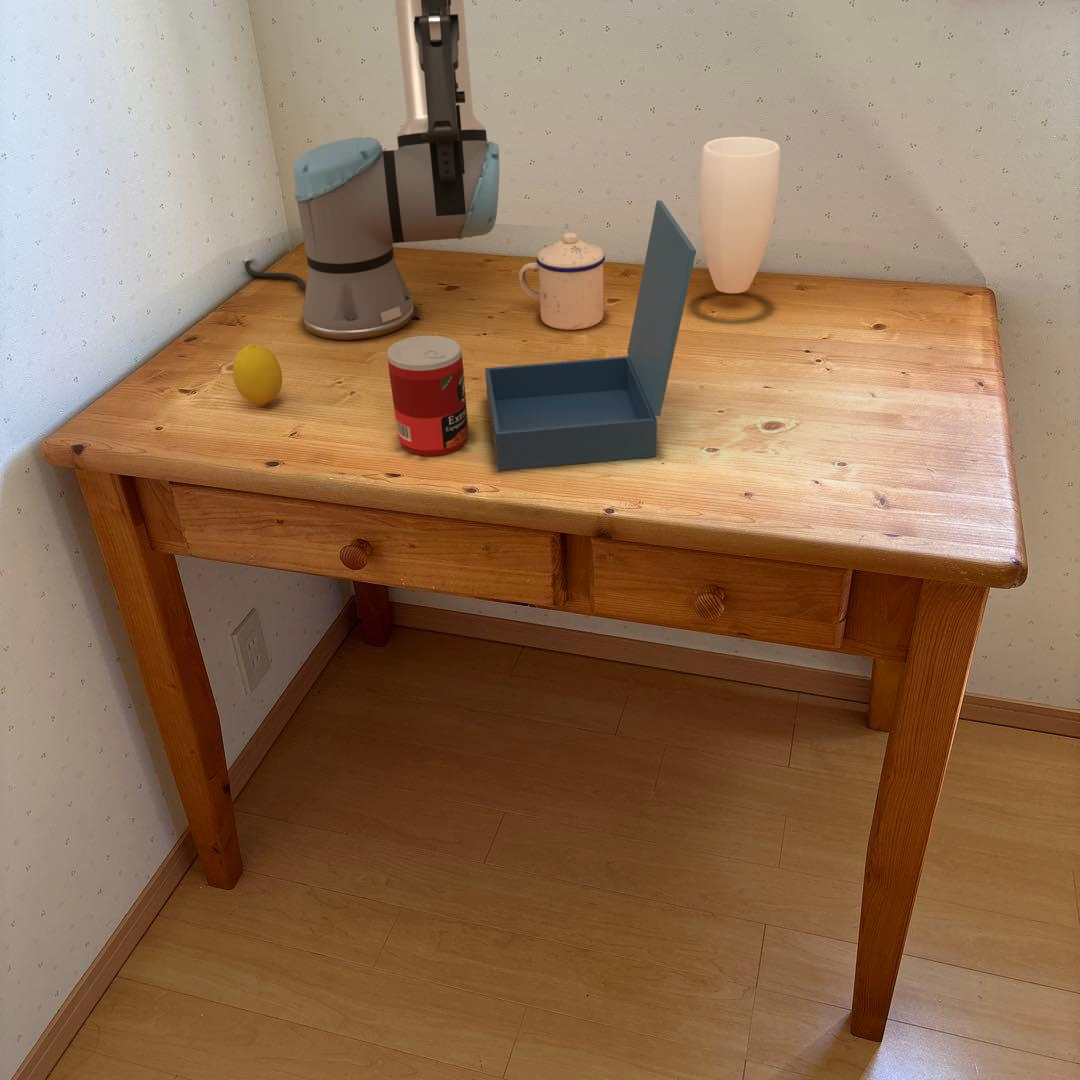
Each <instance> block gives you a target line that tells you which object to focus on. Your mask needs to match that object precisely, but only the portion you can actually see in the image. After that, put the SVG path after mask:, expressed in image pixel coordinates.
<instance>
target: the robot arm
mask: <svg viewBox="0 0 1080 1080" xmlns="http://www.w3.org/2000/svg"><path fill="white" fill-rule="evenodd" d="M464 3H465V1H464V0H394V6H395V7H394V8H395V16H396V26H397V27H396V28H397V33H398V34H397V36H398V45H399V55H400V64H401V74H402V75H401V76H402V83H403V94H404V103H405V113H406V120H405V123H404V124H403V126H402V127H401V128H400V129H399V131H398V132H397V133H396V139H397V149H393V150H383V146H382V145H381V142H380V141H379V140H378V139H376V138H374V137H370V136H368V137H359V136H357V137H350V138H344V139H339V140H335V141H331V142H327V143H324V144H321V145H319V146H316V147H314V148H313V147H312V149H309V150H307V151H306V152H304V153H303V154H301V155H300V156H299V157H298V158H297V159H296V160H295V163H294V164H293V169H292V175H293V183H294V200H295V201H296V202H297V209H298V214H299V221H300V226H301V231H302V237H303V244H304V250H305V255H306V260H307V268H308V271H307V272H308V273H307V279H306V283H305V282H304V281H303V279H302V278H301V277H300V276H298V275H296V274H293V273H287V272H263V271H262V272H261V271H256V270H254V269H252V268H251V265H250V260H249V261H246V263H245V266H244V269H245V271H246V272H247V273H248V274H249V275H250V276H252V277H256V278H263V279H264V278H265V279H288V280H292V281H294V282H296V283H297V284H298V285H299V287H300V289H302V290H303V291H304V302H303V305H302V316H303V317H302V318H303V324H304V327H305V329H306V330H307V331H308V332H309V333H311V334H313V335H315V336H318V337H321V338H324V339H330V340H338V341H339V340H340V341H353V340H354V341H355V340H365V339H371V338H377V337H381V336H384V335H388V334H390V333H394V332H395V331H398V330H400V329H402V328H403V327H405V326H407V325H408V324H409V323H410V322H411V321H412V320H413V318H414V316H415V309H414V302H413V298H412V296H411V292H410V291H409V288H408V287H407V284H406V281H405V280H404V278H403V276H402V274H401V272H400V269H399V267H398V265H397V263H396V259H395V255H394V246H393V245H394V244H402V243H416V242H417V243H418V242H428V241H442V240H453V239H454V240H455V239H458V240H464V239H465V238H472V237H481V236H485V235H488V234H490V232H492V230H493V229H494V227H495V225H496V222H497V215H498V205H499V193H500V192H499V191H500V147H499V144H498V143H496V142H494V141H488V135H487V127H486V126H485V125H483V124H482V123H481V121H479V120H478V119H477V118H476V117H475V114H474V108H473V97H472V85H471V73H470V62H469V49H468V40H467V39H468V38H467V29H466V28H467V27H466V16H465V4H464ZM242 262H243V263H244V261H243V260H242Z"/></svg>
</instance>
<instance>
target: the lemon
mask: <svg viewBox="0 0 1080 1080" xmlns="http://www.w3.org/2000/svg"><path fill="white" fill-rule="evenodd" d="M232 363H233V364H232V378H233V382H234V385H235V387H236V390H237V391H238V393H239V394H240V395H241V396H242V398H243V399H244V400H246V401H248V402H250V403H253V404H258V405H259V406H260V407H266V406H267V405H268V404H269V402H271V401H273V400H275V399H276V398H277V396H278V395H280V392H281V389H282V384H283V374H282V373H283V372H282V369H281V366H280V363H279V361H278V358H277V357H276V355H275V354H274V353H273V351H271V350H270V349H269V348H267V347H265V346H263V345H260V344H255V343H254V342H251V343H248V344H247V345H246V346H244V347H242V348H241V349H240V350H239V351H238V352H237V354H236V355H235V356H234V358H233V362H232Z"/></svg>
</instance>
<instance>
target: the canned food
mask: <svg viewBox="0 0 1080 1080" xmlns="http://www.w3.org/2000/svg"><path fill="white" fill-rule="evenodd" d="M387 364H388V365H387V367H388V374H389V383H390V388H391V397H392V403H393V411H394V418H395V419H394V420H395V426H396V432H397V433H396V434H397V439H398V441H399V442H400V445H401V447H402V448H403V449H404V450H405V451H407V452H409V453H411V454H414V455H418V456H424V457H436V456H437V457H438V456H444V455H448V454H451V453H454V452H455V451H458V450H459V449H461V448H462V447H463V446H464V445H465V444H466V442H467V440H468V436H469V423H468V421H469V420H468V409H467V399H466V398H467V397H466V384H465V374H464V373H465V372H464V360H463V351H462V347H461V345H460V344H459V343H458V341H456V340H454V339H452V338H449V337H447V336H441V335H431V334H428V335H418V336H417V335H415V336H410V337H407V338H404V339H401V340H399V341H396V342H394V343H393V344H392V345H390V346H389V347H388V348H387Z"/></svg>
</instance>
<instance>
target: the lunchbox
mask: <svg viewBox="0 0 1080 1080" xmlns="http://www.w3.org/2000/svg"><path fill="white" fill-rule="evenodd" d="M484 372H485V373H484V375H485V386H486V388H485V389H486V401H487V402H486V403H487V408H488V414H489V420H490V427H491V433H492V440H493V448H494V453H495V461H496V466H497V471H498V472H503V471H514V470H515V471H516V470H525V469H535V468H536V469H537V468H547V467H556V466H557V467H559V466H567V465H568V466H569V465H579V464H590V463H603V462H613V461H623V460H624V461H625V460H635V459H646V458H656V457H657V437H658V433H657V432H658V419H657V416H654V413H653V411H652V409H651V407H650V404H649V402H648V400H647V397H646V395H645V393H644V390H643V388H642V386H641V383H640V381H639V379H638V376H637V374H636V372H635V369H634V367H633V365H632V363H631V360H630V358H629V356H628V355H624V356H615V357H603V358H602V357H601V358H600V357H599V358H589V359H579V360H567V361H553V362H543V363H531V364H521V365H520V364H519V365H505V366H496V367H495V366H494V367H485V368H484Z"/></svg>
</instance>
